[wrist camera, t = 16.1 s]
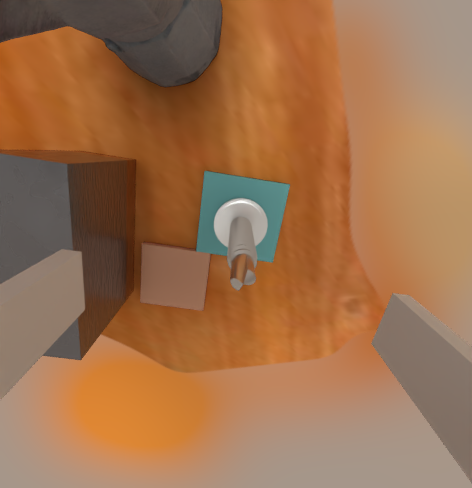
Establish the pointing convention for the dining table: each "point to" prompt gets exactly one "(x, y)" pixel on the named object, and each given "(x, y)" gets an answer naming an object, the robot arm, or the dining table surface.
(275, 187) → the teal pad
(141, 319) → the dining table surface
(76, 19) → the moka pot
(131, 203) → the grey unit
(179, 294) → the terracotta pad
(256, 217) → the screw
